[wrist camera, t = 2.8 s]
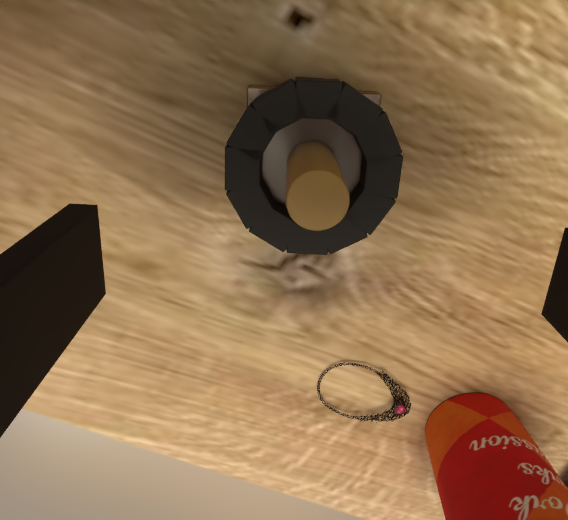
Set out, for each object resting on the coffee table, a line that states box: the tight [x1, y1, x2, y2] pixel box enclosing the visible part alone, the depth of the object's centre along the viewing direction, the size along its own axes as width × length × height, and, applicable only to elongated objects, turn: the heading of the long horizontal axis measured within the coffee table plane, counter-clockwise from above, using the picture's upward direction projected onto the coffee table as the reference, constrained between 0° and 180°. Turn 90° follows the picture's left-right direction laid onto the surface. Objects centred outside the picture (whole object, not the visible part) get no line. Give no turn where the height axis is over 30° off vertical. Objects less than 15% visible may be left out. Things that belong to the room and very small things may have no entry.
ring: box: [225, 77, 403, 255], centre depth 24 cm, size 8×8×2 cm
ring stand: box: [247, 85, 381, 231], centre depth 24 cm, size 7×7×9 cm
